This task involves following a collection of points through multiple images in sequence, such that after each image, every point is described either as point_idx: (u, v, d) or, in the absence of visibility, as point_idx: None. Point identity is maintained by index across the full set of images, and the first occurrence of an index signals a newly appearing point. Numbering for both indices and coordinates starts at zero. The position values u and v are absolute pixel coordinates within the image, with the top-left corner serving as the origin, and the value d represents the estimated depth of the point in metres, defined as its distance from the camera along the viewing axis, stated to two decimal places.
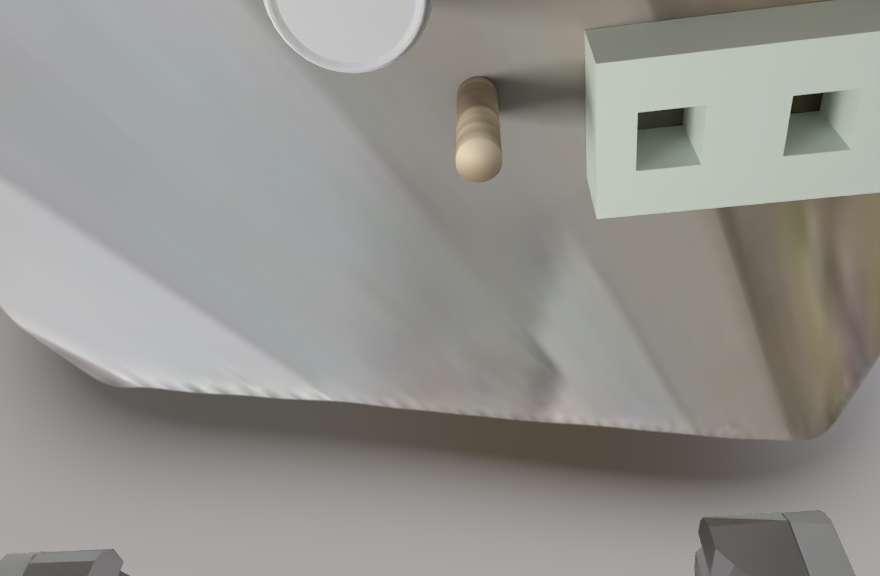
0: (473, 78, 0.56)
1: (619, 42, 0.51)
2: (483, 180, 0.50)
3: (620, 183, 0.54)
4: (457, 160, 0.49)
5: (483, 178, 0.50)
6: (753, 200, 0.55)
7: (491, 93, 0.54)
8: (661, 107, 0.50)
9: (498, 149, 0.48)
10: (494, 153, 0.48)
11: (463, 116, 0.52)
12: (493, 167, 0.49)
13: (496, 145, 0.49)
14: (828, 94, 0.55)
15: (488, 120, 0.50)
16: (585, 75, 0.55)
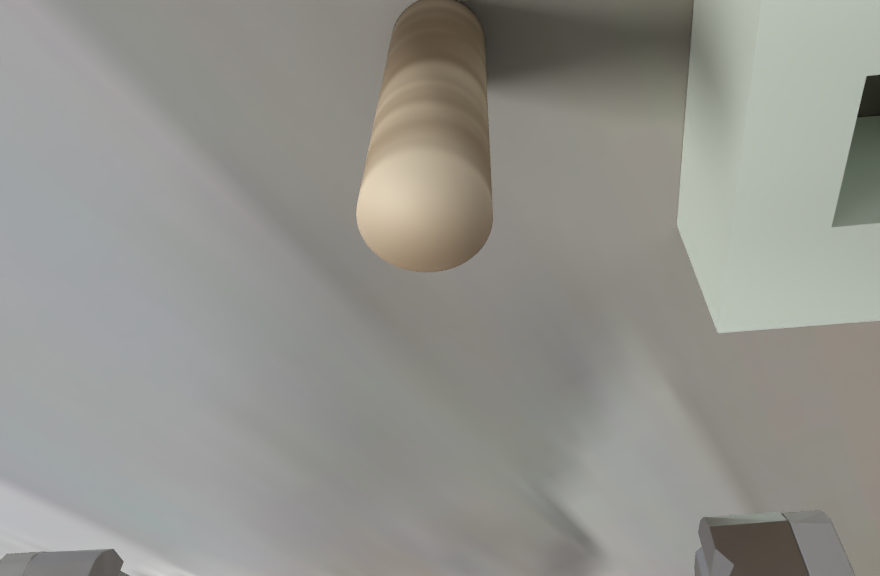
0: (427, 0, 0.23)
1: None
2: (440, 267, 0.18)
3: (787, 256, 0.22)
4: (361, 214, 0.17)
5: (440, 262, 0.17)
6: None
7: (468, 33, 0.22)
8: None
9: (481, 182, 0.16)
10: (468, 193, 0.16)
11: (389, 88, 0.19)
12: (467, 233, 0.17)
13: (475, 169, 0.16)
14: None
15: (454, 97, 0.18)
16: None
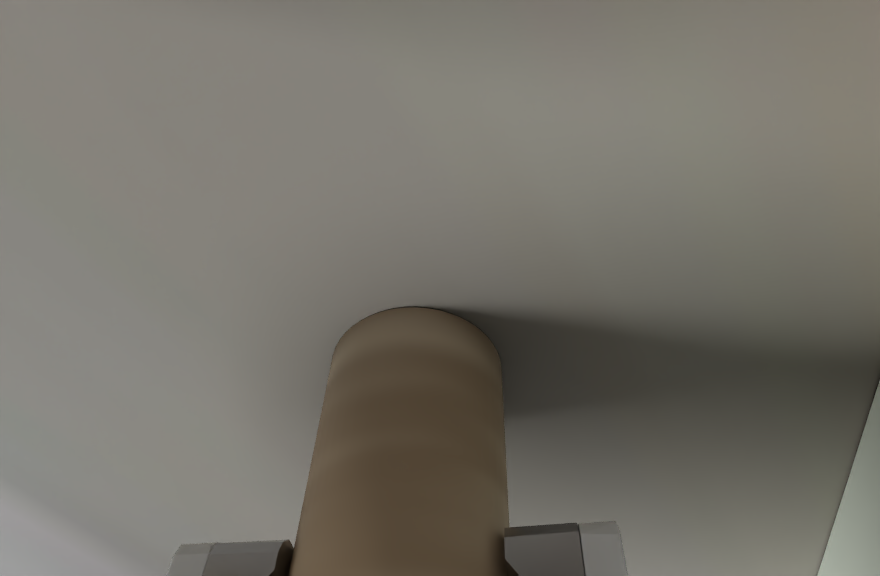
0: (394, 319, 0.12)
1: None
2: None
3: None
4: None
5: None
6: None
7: (473, 418, 0.11)
8: None
9: None
10: None
11: None
12: None
13: None
14: None
15: None
16: None
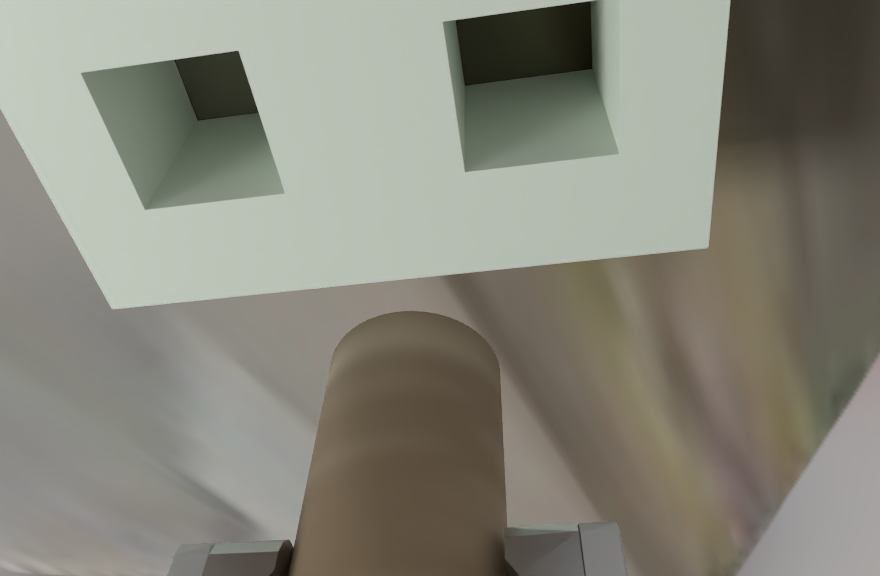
0: (392, 322, 0.12)
1: None
2: None
3: (125, 237, 0.24)
4: None
5: None
6: (430, 268, 0.25)
7: (471, 422, 0.11)
8: (131, 58, 0.20)
9: None
10: None
11: None
12: None
13: None
14: (595, 31, 0.25)
15: None
16: None
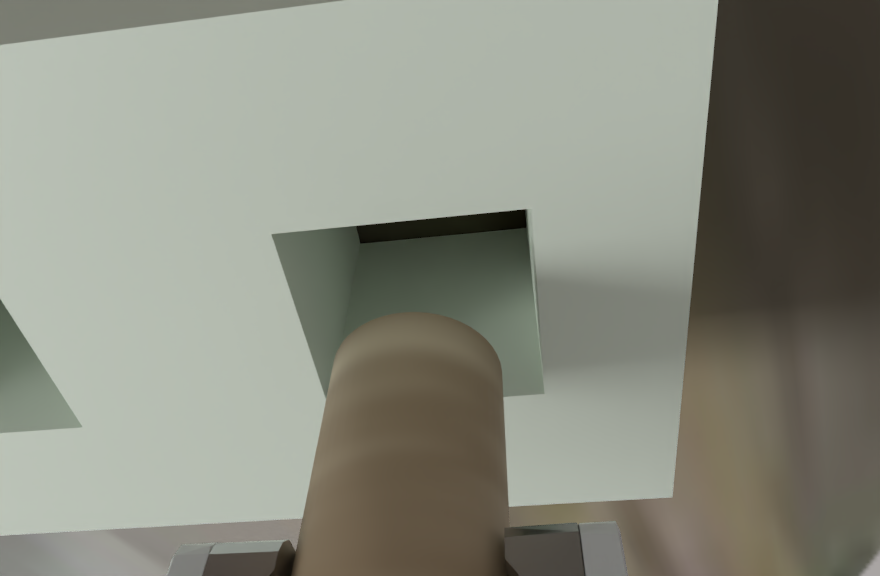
0: (395, 323, 0.12)
1: None
2: None
3: None
4: None
5: None
6: (297, 510, 0.18)
7: (474, 423, 0.11)
8: None
9: None
10: None
11: None
12: None
13: None
14: None
15: None
16: None
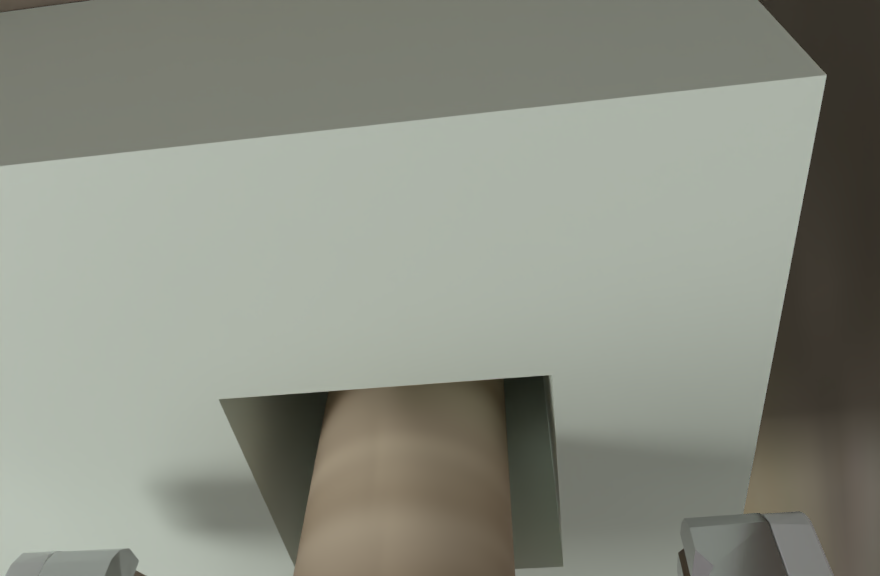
0: None
1: None
2: None
3: None
4: None
5: None
6: None
7: None
8: None
9: None
10: None
11: (337, 429, 0.11)
12: None
13: None
14: None
15: (451, 483, 0.10)
16: None
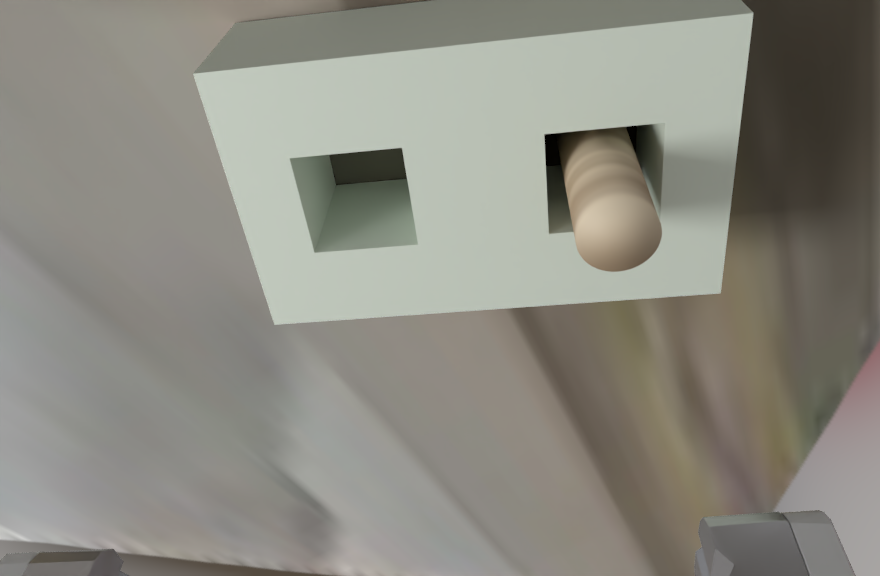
0: None
1: (263, 40, 0.30)
2: (622, 268, 0.28)
3: (295, 272, 0.33)
4: (579, 233, 0.27)
5: (622, 265, 0.27)
6: (516, 301, 0.34)
7: None
8: (326, 150, 0.30)
9: (657, 215, 0.26)
10: (648, 222, 0.26)
11: (579, 154, 0.30)
12: (644, 246, 0.27)
13: (652, 207, 0.26)
14: (640, 133, 0.34)
15: (628, 161, 0.28)
16: None
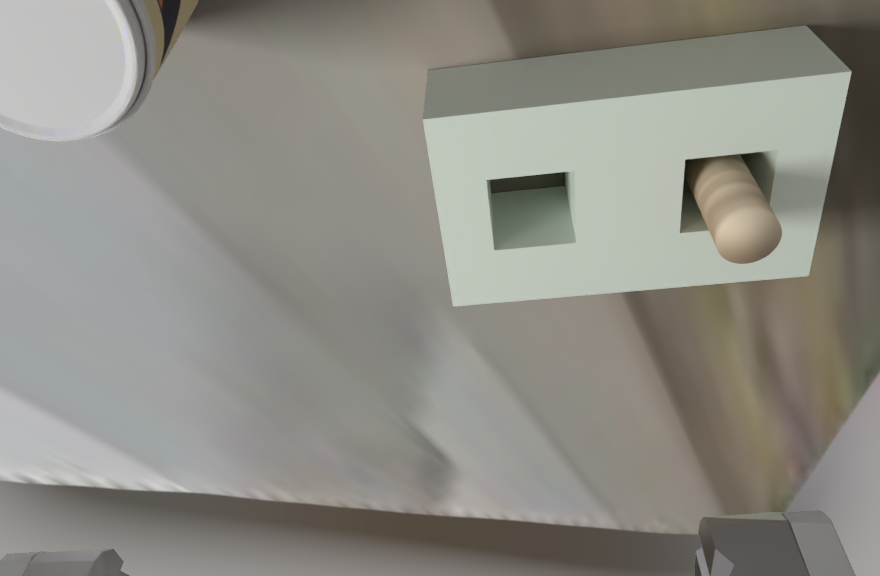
0: None
1: (463, 88, 0.39)
2: (749, 261, 0.37)
3: (477, 265, 0.42)
4: (720, 236, 0.36)
5: (749, 259, 0.37)
6: (647, 285, 0.43)
7: None
8: (516, 173, 0.39)
9: None
10: (773, 227, 0.36)
11: (709, 173, 0.39)
12: (767, 245, 0.36)
13: (775, 216, 0.36)
14: None
15: (750, 179, 0.38)
16: None
